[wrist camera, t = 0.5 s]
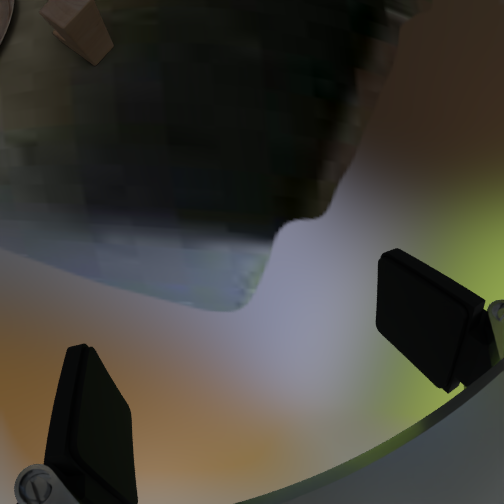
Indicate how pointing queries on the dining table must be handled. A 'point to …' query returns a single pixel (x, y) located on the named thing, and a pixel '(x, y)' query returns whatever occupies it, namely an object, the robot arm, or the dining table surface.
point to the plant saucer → (5, 16)
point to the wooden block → (79, 27)
